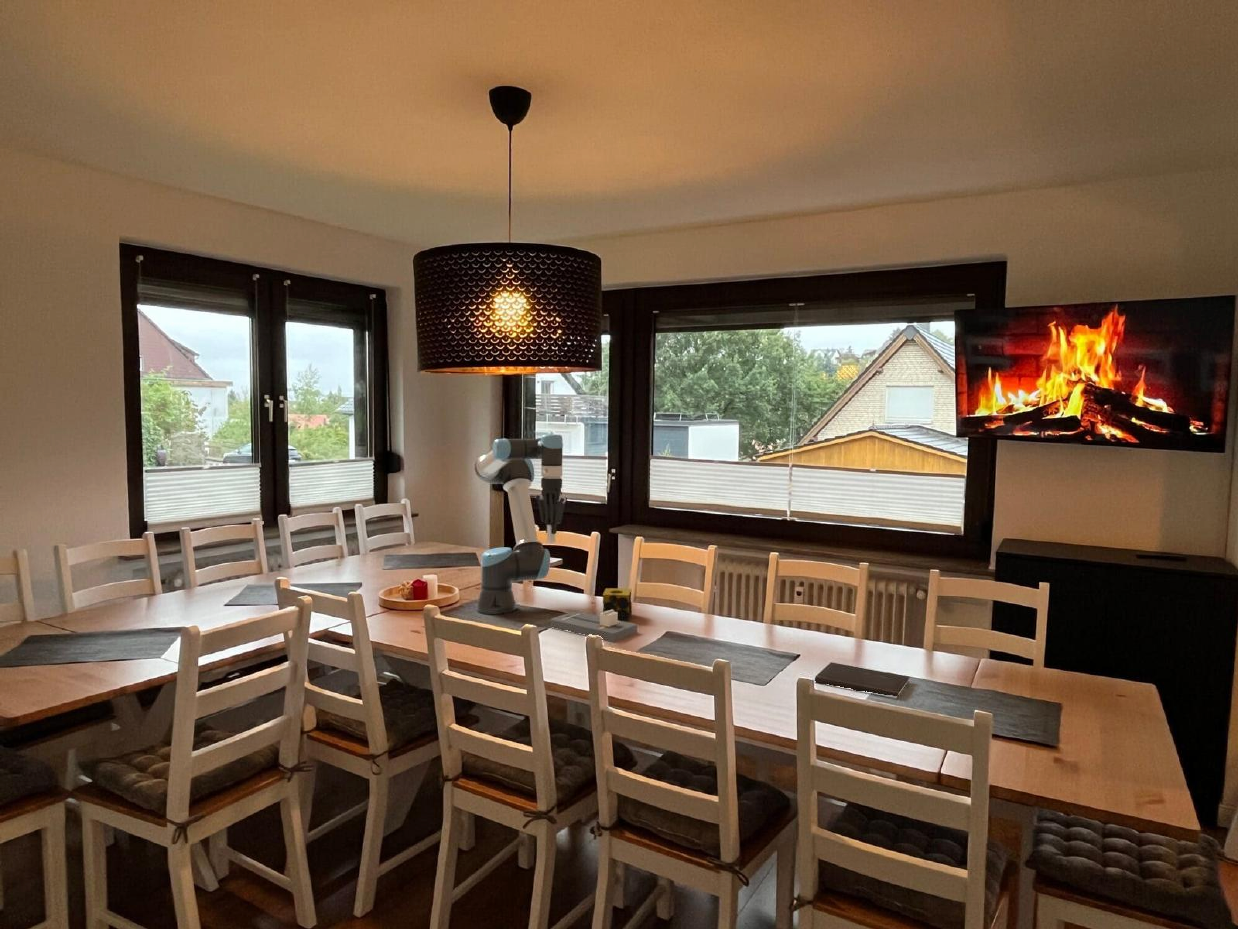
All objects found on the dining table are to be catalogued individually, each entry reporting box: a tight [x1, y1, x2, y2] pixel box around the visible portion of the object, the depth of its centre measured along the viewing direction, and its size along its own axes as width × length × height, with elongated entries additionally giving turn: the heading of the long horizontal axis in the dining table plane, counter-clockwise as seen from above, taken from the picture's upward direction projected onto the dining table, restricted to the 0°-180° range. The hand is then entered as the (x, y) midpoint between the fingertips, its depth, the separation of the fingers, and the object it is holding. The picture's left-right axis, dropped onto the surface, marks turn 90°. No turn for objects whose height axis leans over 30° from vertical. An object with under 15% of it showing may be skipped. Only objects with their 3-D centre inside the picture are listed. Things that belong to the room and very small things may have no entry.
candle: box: [602, 587, 633, 622], centre depth 288 cm, size 10×10×10 cm
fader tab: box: [599, 610, 618, 627], centre depth 267 cm, size 4×5×5 cm
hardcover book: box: [814, 661, 911, 696], centre depth 223 cm, size 16×23×2 cm
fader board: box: [549, 610, 638, 643], centre depth 271 cm, size 28×14×3 cm, turn 55°
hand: (551, 542), depth 278 cm, fingers closed
